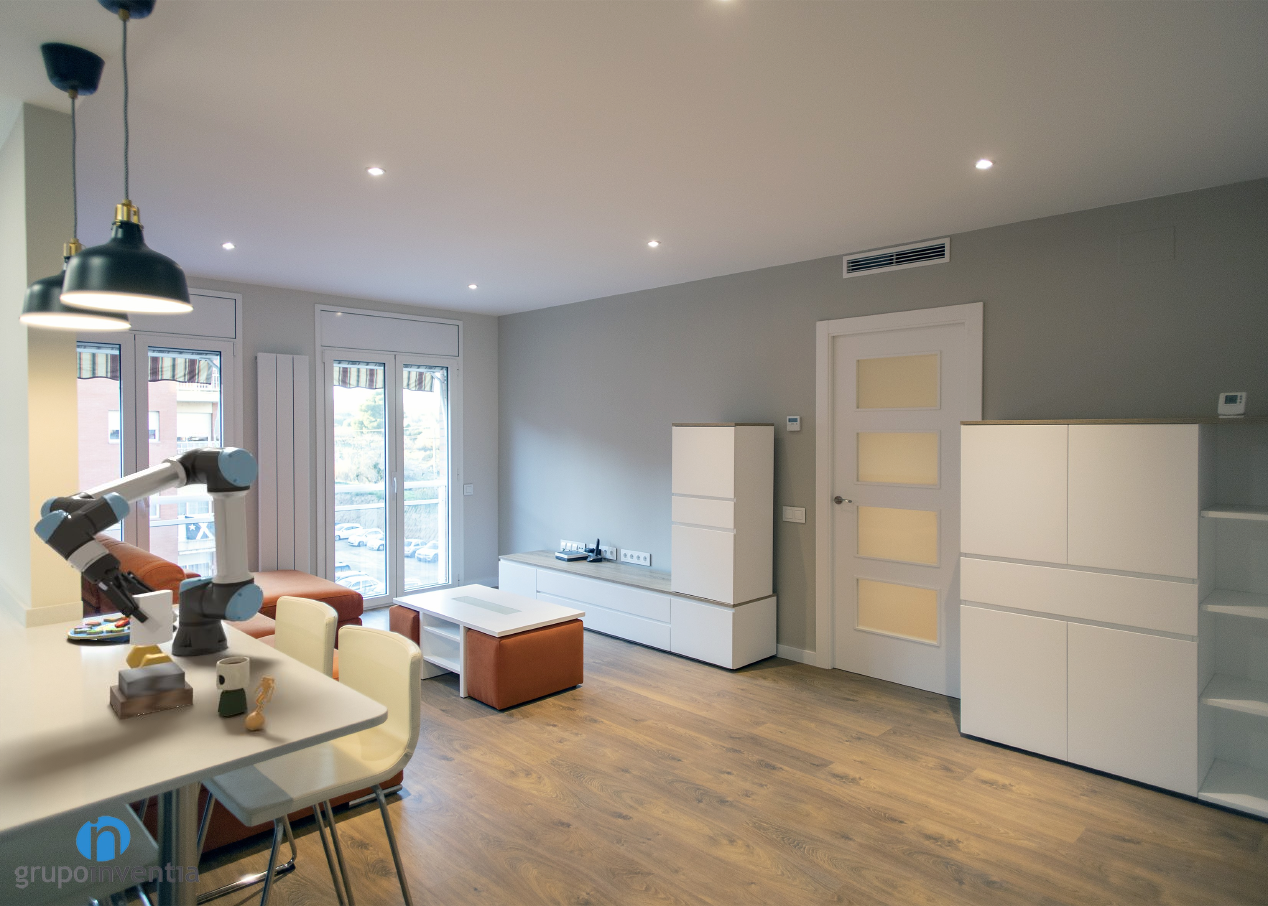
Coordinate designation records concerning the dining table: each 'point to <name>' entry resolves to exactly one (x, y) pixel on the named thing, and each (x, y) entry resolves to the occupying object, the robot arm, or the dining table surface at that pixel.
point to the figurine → (260, 704)
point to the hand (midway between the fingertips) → (166, 624)
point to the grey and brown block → (150, 689)
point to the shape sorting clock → (104, 630)
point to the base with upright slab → (160, 610)
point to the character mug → (232, 684)
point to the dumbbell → (146, 656)
